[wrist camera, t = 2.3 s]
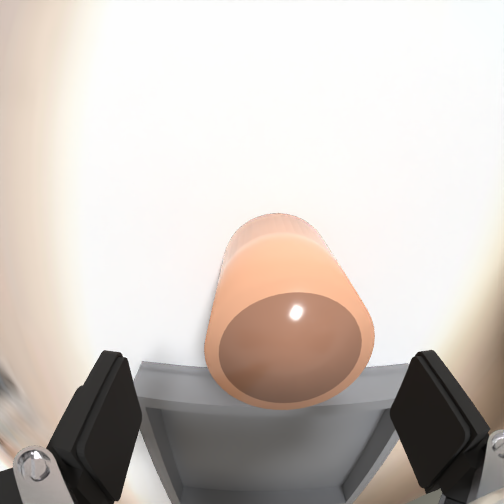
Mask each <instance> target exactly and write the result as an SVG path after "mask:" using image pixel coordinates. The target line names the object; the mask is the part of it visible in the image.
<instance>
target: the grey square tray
mask: <svg viewBox="0 0 504 504" xmlns="http://www.w3.org/2000/svg"><path fill="white" fill-rule="evenodd" d="M408 367H409V364H399V365H389V366H378V367H365V369H364V370H363V371H362V373H361V374H360V375H359V377H358V378H357V379H356V380H355V381H354V382H353V383H352V384H351V385H350V386H348V387H347V388H346V389H345V390H343V391H342V392H340V393H339V394H337V395H336V396H334V397H332V398H330V399H328V400H326V401H324V402H321V403H319V404H316V405H313V406H309V407H305V408H300V409H293V410H272V409H264V408H260V407H255V406H252V405H249V404H246V403H244V402H242V401H240V400H238V399H236V398H234V397H233V396H231V395H229V394H228V393H227V392H226V391H224V390H223V389H222V388H221V387H220V386H219V385H218V384H217V382H216V381H215V380H214V378H213V377H212V375H211V373H210V371H209V370H208V368H204V367H191V366H180V365H170V364H161V363H152V362H144V361H142V363H141V365H140V368H139V370H138V372H137V375H136V377H135V379H134V382H133V383H134V386H135V390H136V394H137V397H138V401H139V404H140V408H141V411H142V422H141V425H140V431H141V434H142V436H143V439H144V441H145V444H146V447H147V449H148V452H149V454H150V456H151V459H152V461H153V464H154V466H155V468H156V471H157V473H158V475H159V477H160V480H161V482H162V484H163V486H164V488H165V490H166V492H167V495H168V497H169V499H170V501H171V503H172V504H352V503H353V502H354V501H355V500H356V499H357V497H358V496H359V495H360V494H361V492H362V491H363V490H364V488H365V487H366V486H367V485H368V483H369V482H370V481H371V479H372V478H373V477H374V475H375V474H376V472H377V471H378V470H379V468H380V467H381V465H382V464H383V463H384V461H385V460H386V458H387V457H388V455H389V454H390V452H391V451H392V449H393V448H394V446H395V445H396V443H397V441H398V440H399V436H398V434H397V432H396V429H395V427H394V425H393V423H392V420H391V418H390V408H391V406H392V404H393V402H394V400H395V397H396V395H397V393H398V391H399V388H400V386H401V384H402V381H403V379H404V377H405V374H406V372H407V369H408Z"/></svg>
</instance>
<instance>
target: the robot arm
mask: <svg viewBox="0 0 504 504" xmlns="http://www.w3.org/2000/svg"><path fill="white" fill-rule="evenodd" d="M390 418H391V420H392V423H393V425H394V427H395V429H396V432H397V434H398V436H399V438H400V441H401V443H402V445H403V447H404V450H405V452H406V454H407V457H408V459H409V461H410V464H411V466H412V468H413V471H414V473H415V476H416V478H417V480H418V483H419V485H420V487H422V488H424V489H425V492H426V494H427V493H430V492H432V491H435V490H438V489H439V488H441V491H442V495H441V498H440V501H439V503H438V504H504V430H496V431H494V432H493V433H492V434H491V435H490V436H489V434H488V431H489V430H490V428H489V426H488V425H487V423H486V422H485V420H484V419H483V417H482V416H481V414H480V413H479V411H478V410H477V408H476V407H475V405H474V404H473V403H472V401H471V400H470V398H469V397H468V396H467V394H466V393H465V391H464V390H463V389H462V387H461V386H460V384H459V383H458V382H457V380H456V379H455V378H454V376H453V375H452V374H451V372H450V371H449V370H448V368H447V367H446V366H445V364H444V363H443V362H442V360H441V359H440V358H439V356H438V355H437V354H436V352H434V351H433V350H429V351H421V352H418V353H417V354H416V355H415V357H413V358H412V359H411V362H410V364H409V367H408V369H407V372H406V374H405V377H404V379H403V381H402V384H401V386H400V388H399V391H398V393H397V395H396V397H395V400H394V402H393V404H392V406H391V408H390ZM141 422H142V411H141V408H140V404H139V401H138V397H137V394H136V390H135V386H134V383H133V379H132V375H131V371H130V367H129V363H128V360H127V358H125V357H123V356H122V354H121V353H120V352H113V351H106V350H104V351H103V352H102V353H101V355H100V356H99V358H98V360H97V362H96V363H95V365H94V367H93V369H92V370H91V372H90V374H89V376H88V378H87V379H86V381H85V383H84V385H83V386H80V387H79V388H78V389H77V390H76V392H75V394H74V396H73V398H72V399H71V401H70V403H69V405H68V407H67V409H66V411H65V412H64V414H63V416H62V418H61V420H60V422H59V424H58V426H57V428H56V430H55V432H54V434H53V436H52V438H51V440H50V442H49V444H48V446H47V448H46V449H45V448H43V447H41V446H28V447H26V448H24V449H22V450H21V451H19V452H18V453H17V455H16V456H15V458H14V462H13V468H10V469H7V470H4V471H1V472H0V504H114V501H119V499H120V497H121V493H122V489H123V486H124V482H125V478H126V474H127V471H128V467H129V463H130V460H131V456H132V453H133V449H134V446H135V442H136V439H137V436H138V432H139V429H140V425H141Z"/></svg>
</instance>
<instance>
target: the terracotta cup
mask: <svg viewBox="0 0 504 504" xmlns="http://www.w3.org/2000/svg"><path fill="white" fill-rule="evenodd" d="M374 338H375V334H374V326H373V322H372V319H371V317H370V314H369V312H368V310H367V309H366V307H365V305H364V304H363V302H362V300H361V299H360V297H359V295H358V294H357V292H356V290H355V289H354V287H353V286H352V284H351V282H350V281H349V279H348V278H347V276H346V274H345V273H344V271H343V270H342V268H341V266H340V265H339V263H338V262H337V260H336V259H335V257H334V255H333V254H332V252H331V251H330V249H329V248H328V246H327V245H326V243H325V242H324V240H323V239H322V237H321V236H320V234H319V233H318V232H317V230H316V229H315V228H314V227H313V226H312V225H310V224H309V223H308V222H306V221H304V220H303V219H301V218H298V217H296V216H293V215H289V214H281V213H273V214H266V215H262V216H259V217H256V218H254V219H252V220H250V221H248V222H247V223H245V224H244V225H243V226H241V227H240V228H239V229H238V230H237V231H236V232H235V233H234V235H233V236H232V237H231V239H230V241H229V243H228V245H227V248H226V250H225V255H224V259H223V263H222V267H221V272H220V276H219V280H218V285H217V289H216V294H215V298H214V302H213V307H212V311H211V316H210V320H209V325H208V330H207V334H206V339H205V346H204V354H205V360H206V364H207V367H208V370H209V371H210V373H211V375H212V377H213V378H214V380H215V381H216V382H217V384H218V385H219V386H220V387H221V388H222V389H223V390H224V391H226V392H227V393H228V394H229V395H231V396H233V397H234V398H236V399H238V400H240V401H242V402H244V403H246V404H249V405H252V406H255V407H260V408H264V409H272V410H293V409H300V408H305V407H309V406H313V405H316V404H319V403H321V402H324V401H326V400H328V399H330V398H332V397H334V396H336V395H337V394H339V393H340V392H342V391H343V390H345V389H346V388H347V387H348V386H350V385H351V384H352V383H353V382H354V381H355V380H356V379H357V378H358V377H359V375H360V374H361V373H362V371H363V370H364V369H365V367H366V365H367V363H368V362H369V359H370V357H371V354H372V351H373V347H374Z"/></svg>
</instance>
